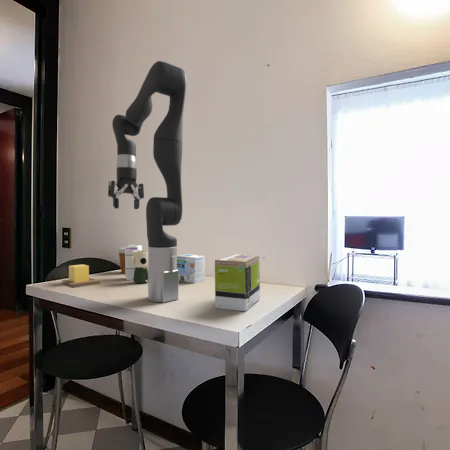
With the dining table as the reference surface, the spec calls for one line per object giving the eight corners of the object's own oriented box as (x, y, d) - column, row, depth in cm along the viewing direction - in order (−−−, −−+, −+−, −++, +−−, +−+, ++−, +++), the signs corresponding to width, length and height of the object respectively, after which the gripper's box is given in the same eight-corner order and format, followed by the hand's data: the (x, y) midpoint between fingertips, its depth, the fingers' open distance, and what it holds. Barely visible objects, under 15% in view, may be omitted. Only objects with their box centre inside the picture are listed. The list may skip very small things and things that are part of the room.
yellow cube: (88, 280, 125) (88, 265, 125) (74, 282, 121) (74, 267, 121) (82, 278, 129) (82, 264, 129) (68, 280, 125) (68, 265, 125)
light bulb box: (175, 280, 132) (175, 255, 132) (186, 278, 138) (186, 253, 138) (195, 283, 126) (195, 257, 126) (205, 280, 132) (205, 255, 132)
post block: (100, 283, 125) (100, 271, 124) (74, 287, 117) (74, 274, 117) (87, 279, 133) (87, 267, 133) (62, 282, 125) (62, 270, 125)
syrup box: (138, 280, 132) (138, 246, 131) (124, 280, 132) (124, 246, 131) (142, 277, 137) (142, 245, 137) (129, 277, 137) (129, 244, 137)
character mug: (137, 286, 120) (137, 252, 120) (124, 284, 124) (124, 251, 124) (157, 281, 130) (157, 250, 130) (144, 279, 134) (144, 249, 133)
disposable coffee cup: (114, 274, 145) (114, 248, 145) (123, 270, 155) (123, 246, 154) (133, 275, 144) (133, 249, 143) (141, 271, 153) (141, 247, 153)
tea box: (232, 296, 106) (232, 253, 106) (260, 299, 102) (261, 254, 102) (213, 308, 92) (214, 258, 92) (245, 312, 88) (246, 260, 88)
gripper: (114, 164, 114) (114, 208, 115) (147, 168, 125) (147, 209, 125) (104, 166, 120) (104, 208, 120) (137, 170, 130) (137, 209, 130)
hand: (126, 208), depth 123 cm, fingers open, 8 cm apart
